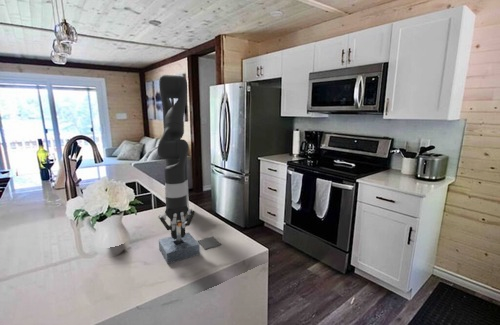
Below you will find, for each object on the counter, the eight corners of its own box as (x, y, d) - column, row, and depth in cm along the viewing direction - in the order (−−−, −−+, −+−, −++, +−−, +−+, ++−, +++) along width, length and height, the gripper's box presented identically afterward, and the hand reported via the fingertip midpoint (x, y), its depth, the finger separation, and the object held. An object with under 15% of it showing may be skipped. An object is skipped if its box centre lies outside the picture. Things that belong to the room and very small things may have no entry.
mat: (197, 241, 108) (197, 240, 108) (213, 237, 111) (213, 236, 111) (205, 249, 101) (205, 248, 101) (221, 244, 105) (221, 244, 105)
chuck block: (159, 249, 102) (158, 239, 101) (189, 241, 108) (188, 232, 107) (167, 263, 92) (166, 253, 91) (199, 254, 98) (199, 244, 97)
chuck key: (174, 244, 101) (172, 217, 99) (180, 242, 102) (178, 216, 100) (177, 250, 97) (176, 222, 95) (184, 248, 98) (182, 220, 96)
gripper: (190, 188, 102) (192, 229, 105) (154, 194, 95) (157, 238, 98) (197, 193, 96) (199, 237, 99) (158, 199, 89) (162, 246, 92)
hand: (178, 237), depth 99 cm, fingers closed on chuck key, 2 cm apart
